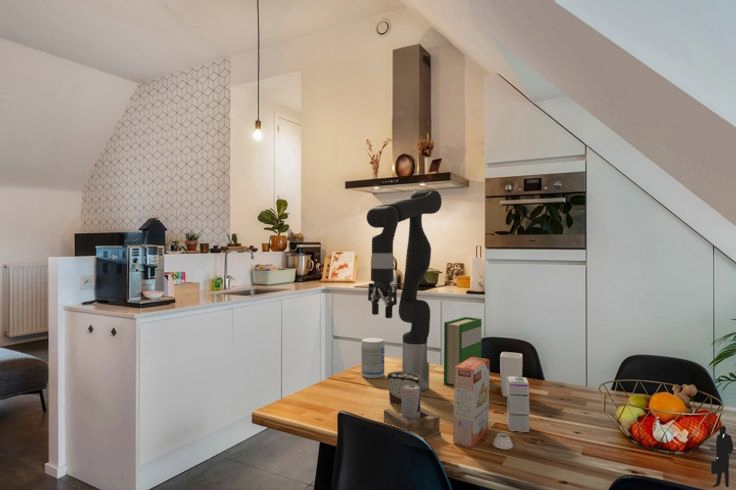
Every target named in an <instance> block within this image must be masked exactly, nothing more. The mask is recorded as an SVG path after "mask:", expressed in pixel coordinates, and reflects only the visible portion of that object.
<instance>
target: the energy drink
mask: <svg viewBox="0 0 736 490" xmlns="http://www.w3.org/2000/svg"><path fill="white" fill-rule="evenodd" d="M420 407H421V391H420V387H419V386H418V385H415V384H406V385H403V386H402V406H401V410H400V411H401V414H400V415H401V416H402V417H404V418H406V419H407V420H414V419H418V418H420Z"/></svg>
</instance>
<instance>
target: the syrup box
mask: <svg viewBox="0 0 736 490" xmlns="http://www.w3.org/2000/svg"><path fill="white" fill-rule="evenodd" d="M506 399H507V400H506V401H507V402H506V403H507V405H506V407H507V408H506V412H507V413H506V414H507V415H506V419H507V420H506V423H507V426H508V427H509V428H508V431H509V430H510V431H509V432H513V431H522V432H521V433H523V432H529V433H530V383H529V381H528V378H527V377H524V376H522V377H516V376H512V377H507V397H506Z"/></svg>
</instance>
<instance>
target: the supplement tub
mask: <svg viewBox="0 0 736 490" xmlns="http://www.w3.org/2000/svg"><path fill="white" fill-rule="evenodd" d="M360 346H361V349H360V351H361V352H360V354H361V356H360V357H361V359H360V361H361V364H360V366H361V367H360V368H361V371H360V373H361V376H362V377H364V378H367V379H379V378H380V379H381V378H382V377H384V376H385V339H383V338H379V337H367V338H362V339H361V345H360Z"/></svg>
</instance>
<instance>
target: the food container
mask: <svg viewBox="0 0 736 490" xmlns="http://www.w3.org/2000/svg"><path fill="white" fill-rule="evenodd" d="M385 380H386V381H387V387H388V396H389V397H388V399H389V404H390V405H395V406H401V407H402V386H403V385H406V384H415V385H418V386H420V385H421V384H422V381H421V378H420V375H418V374H416V373H413V372H407V371H402V370H398V371H390V372H388V373H387V375H386V378H385Z"/></svg>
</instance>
